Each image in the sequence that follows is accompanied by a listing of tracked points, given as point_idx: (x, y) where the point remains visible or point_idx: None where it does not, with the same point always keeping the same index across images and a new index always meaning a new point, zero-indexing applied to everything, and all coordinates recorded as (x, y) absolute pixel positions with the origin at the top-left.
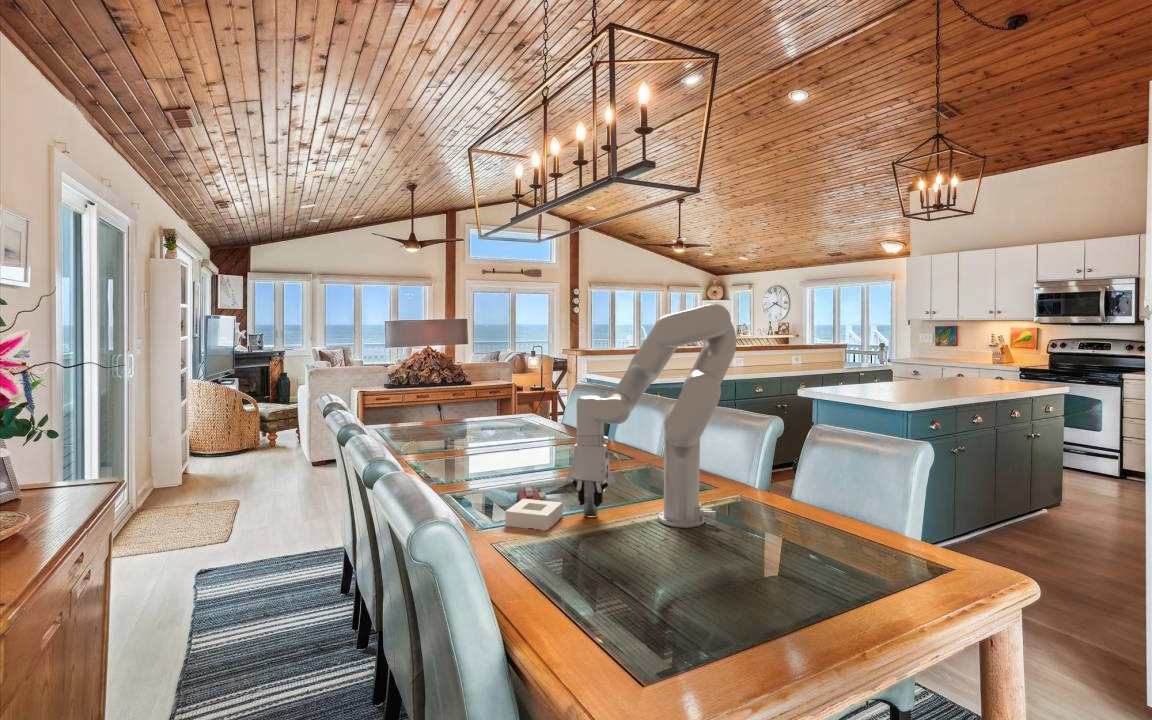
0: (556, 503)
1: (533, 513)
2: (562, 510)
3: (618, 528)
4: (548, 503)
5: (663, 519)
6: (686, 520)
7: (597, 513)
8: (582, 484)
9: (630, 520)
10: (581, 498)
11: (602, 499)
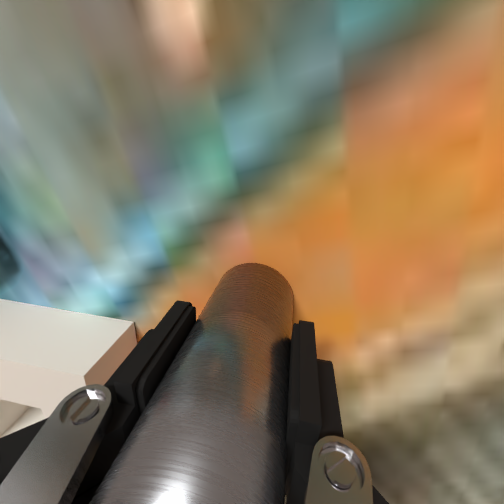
0: (63, 389)
1: None
2: (114, 344)
3: (411, 426)
4: (29, 391)
5: None
6: None
7: (292, 307)
8: (79, 456)
9: (495, 334)
10: None
11: (332, 375)
